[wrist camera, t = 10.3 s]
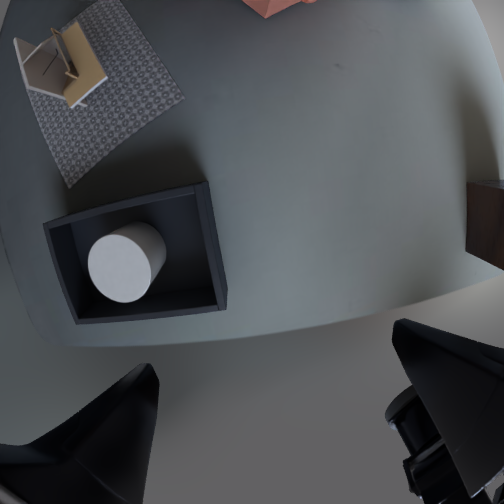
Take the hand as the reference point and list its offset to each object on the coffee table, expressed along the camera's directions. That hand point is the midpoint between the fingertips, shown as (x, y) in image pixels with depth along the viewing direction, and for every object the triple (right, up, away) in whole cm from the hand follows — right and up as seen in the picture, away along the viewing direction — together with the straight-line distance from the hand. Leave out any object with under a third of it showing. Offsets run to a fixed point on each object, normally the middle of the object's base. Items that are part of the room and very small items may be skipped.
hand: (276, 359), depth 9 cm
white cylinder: (-9, +4, +10) cm, 14 cm away
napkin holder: (-14, +18, +6) cm, 23 cm away
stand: (+23, +8, +11) cm, 27 cm away
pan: (-9, +4, +10) cm, 14 cm away
